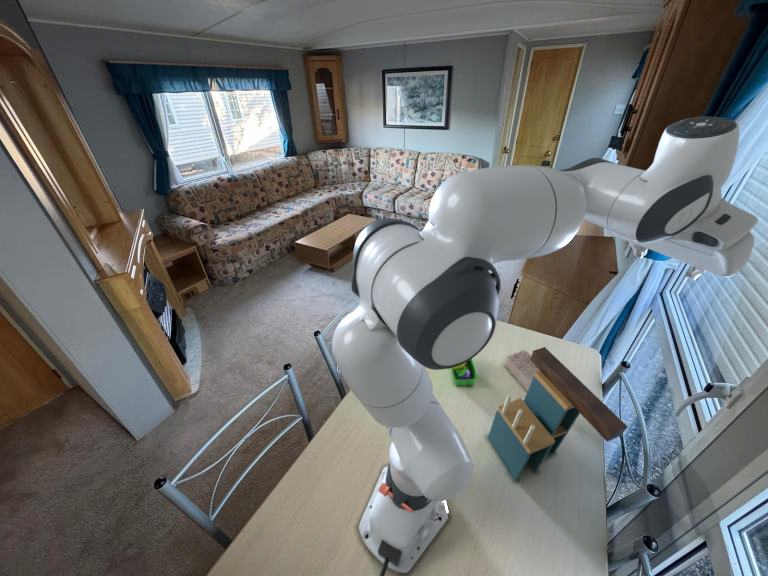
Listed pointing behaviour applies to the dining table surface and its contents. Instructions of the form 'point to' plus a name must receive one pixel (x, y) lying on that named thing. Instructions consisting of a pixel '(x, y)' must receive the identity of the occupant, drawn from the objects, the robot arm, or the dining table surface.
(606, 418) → the block
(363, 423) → the dining table surface
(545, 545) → the dining table surface
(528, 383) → the brick
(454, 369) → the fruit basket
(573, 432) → the dining table surface
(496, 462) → the dining table surface
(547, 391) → the plate rack
